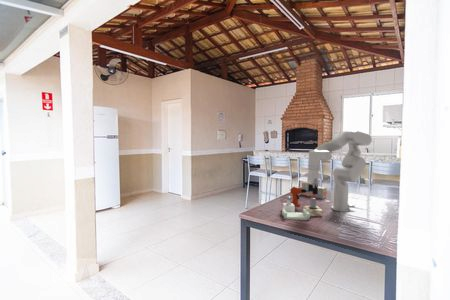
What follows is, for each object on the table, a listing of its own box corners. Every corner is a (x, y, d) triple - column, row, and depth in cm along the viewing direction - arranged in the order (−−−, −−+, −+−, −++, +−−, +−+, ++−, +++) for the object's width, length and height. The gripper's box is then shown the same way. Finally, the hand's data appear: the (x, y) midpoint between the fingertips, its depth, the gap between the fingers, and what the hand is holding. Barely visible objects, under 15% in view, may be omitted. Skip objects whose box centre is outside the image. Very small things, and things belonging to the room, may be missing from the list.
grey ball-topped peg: (291, 209, 167) (291, 195, 167) (292, 211, 163) (292, 197, 162) (284, 209, 168) (285, 195, 167) (286, 210, 163) (286, 197, 163)
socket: (317, 211, 165) (317, 206, 165) (322, 216, 155) (322, 210, 155) (303, 211, 166) (303, 205, 165) (307, 215, 156) (307, 210, 155)
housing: (292, 209, 169) (292, 203, 168) (294, 212, 162) (294, 205, 161) (282, 209, 169) (282, 202, 169) (284, 212, 162) (284, 205, 162)
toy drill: (312, 208, 168) (310, 187, 169) (289, 205, 182) (288, 187, 183) (315, 206, 171) (313, 187, 172) (293, 204, 185) (291, 186, 186)
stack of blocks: (326, 197, 204) (326, 184, 203) (322, 199, 200) (323, 185, 199) (304, 193, 221) (305, 180, 220) (301, 194, 217) (301, 181, 216)
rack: (305, 214, 158) (305, 209, 157) (309, 219, 148) (309, 213, 148) (281, 214, 159) (282, 208, 159) (284, 219, 149) (284, 213, 149)
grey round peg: (314, 212, 162) (315, 197, 162) (316, 214, 158) (317, 199, 158) (309, 212, 162) (309, 197, 162) (310, 214, 158) (311, 198, 158)
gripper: (304, 166, 167) (303, 189, 168) (312, 169, 150) (311, 195, 151) (315, 166, 167) (314, 189, 168) (323, 169, 150) (322, 195, 150)
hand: (312, 192), depth 159 cm, fingers open, 9 cm apart
